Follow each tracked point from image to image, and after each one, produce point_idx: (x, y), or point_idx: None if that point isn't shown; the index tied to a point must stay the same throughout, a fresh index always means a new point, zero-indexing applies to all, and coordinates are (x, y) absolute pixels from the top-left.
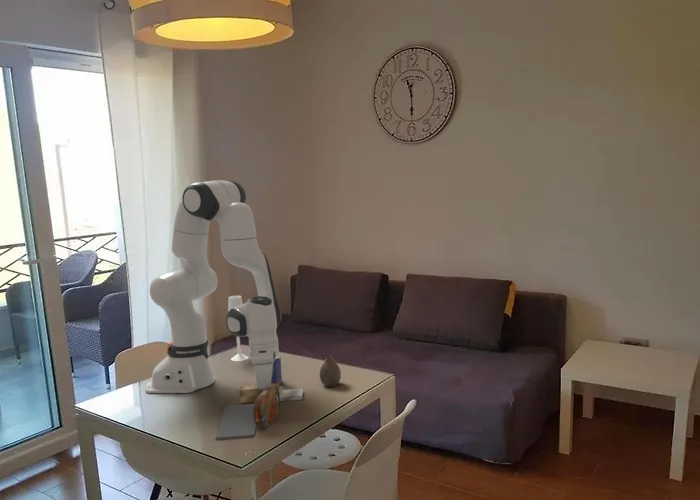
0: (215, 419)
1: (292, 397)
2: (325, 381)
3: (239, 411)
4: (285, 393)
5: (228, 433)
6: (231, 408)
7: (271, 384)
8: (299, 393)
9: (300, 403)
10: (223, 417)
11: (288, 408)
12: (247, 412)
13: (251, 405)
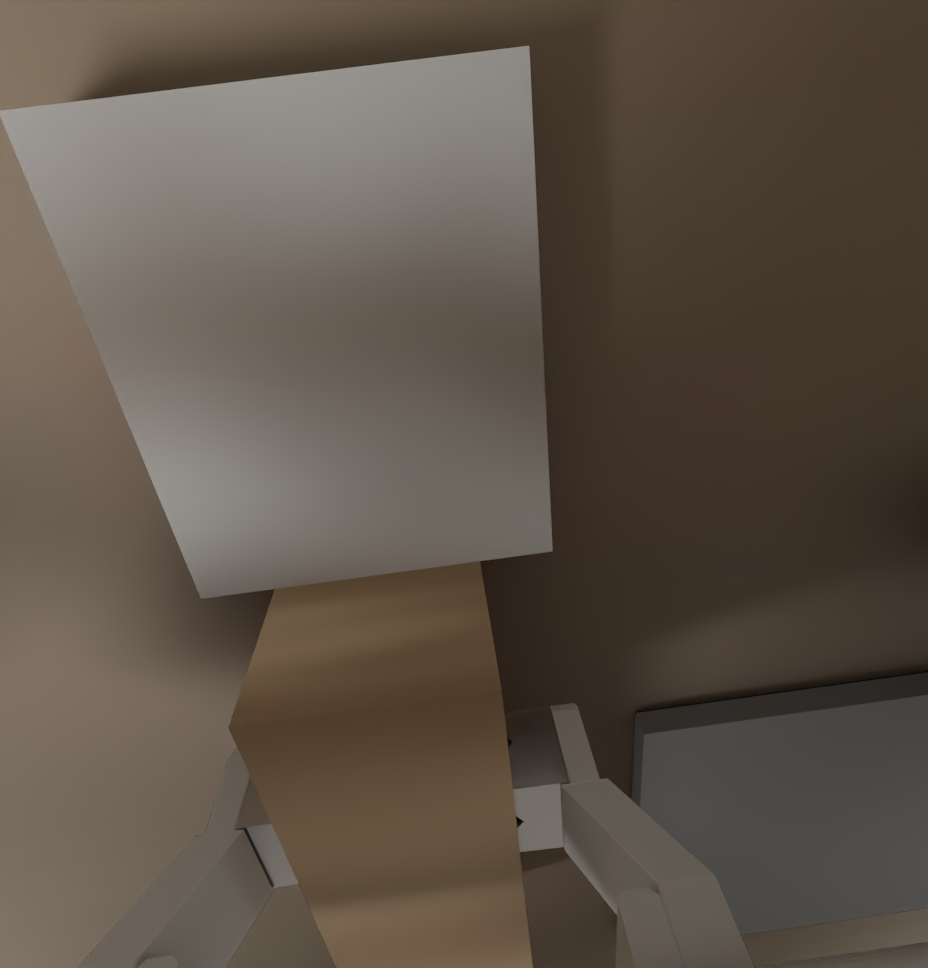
0: (859, 923)
1: (540, 312)
2: None
3: (822, 842)
4: (363, 483)
5: None
6: None
7: (317, 831)
8: (373, 159)
9: (739, 97)
10: (910, 904)
11: (901, 323)
12: (890, 781)
13: (691, 792)
